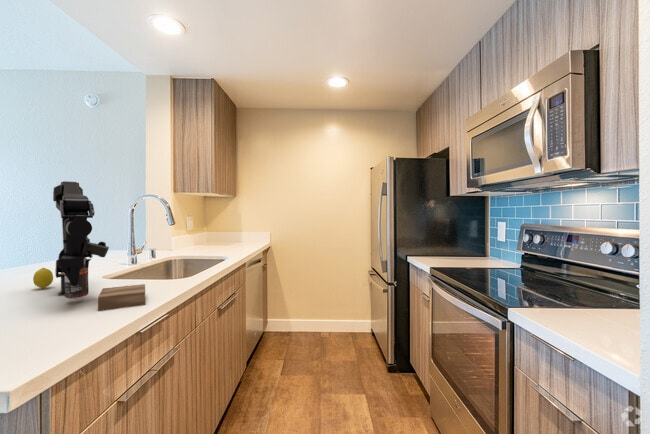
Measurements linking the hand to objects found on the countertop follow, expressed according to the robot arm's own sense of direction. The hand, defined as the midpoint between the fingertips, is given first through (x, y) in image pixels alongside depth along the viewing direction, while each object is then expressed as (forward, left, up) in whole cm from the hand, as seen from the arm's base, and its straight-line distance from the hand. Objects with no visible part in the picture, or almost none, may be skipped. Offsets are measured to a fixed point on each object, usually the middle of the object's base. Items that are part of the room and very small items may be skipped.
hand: (76, 283), depth 98 cm
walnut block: (+8, +13, -6) cm, 16 cm away
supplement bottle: (0, 0, -4) cm, 4 cm away
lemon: (-27, -14, -6) cm, 31 cm away
